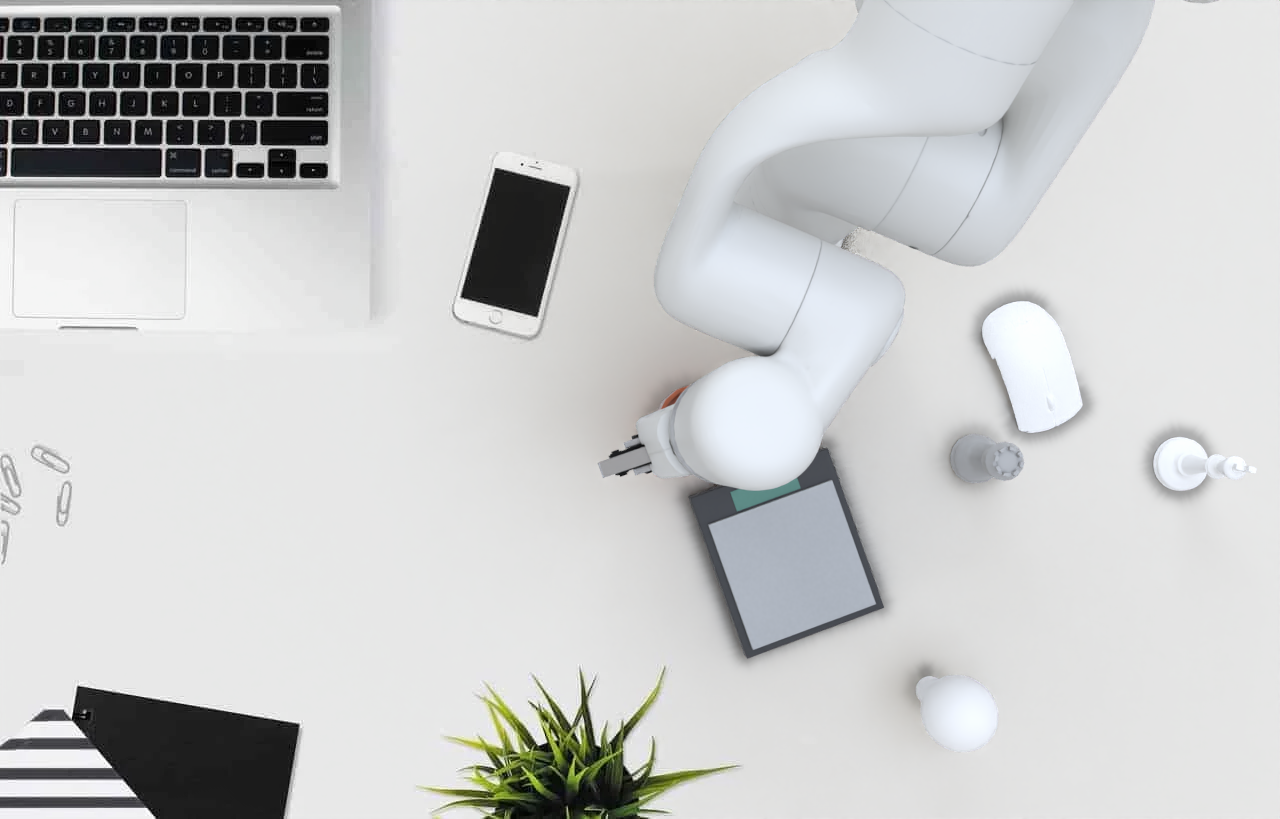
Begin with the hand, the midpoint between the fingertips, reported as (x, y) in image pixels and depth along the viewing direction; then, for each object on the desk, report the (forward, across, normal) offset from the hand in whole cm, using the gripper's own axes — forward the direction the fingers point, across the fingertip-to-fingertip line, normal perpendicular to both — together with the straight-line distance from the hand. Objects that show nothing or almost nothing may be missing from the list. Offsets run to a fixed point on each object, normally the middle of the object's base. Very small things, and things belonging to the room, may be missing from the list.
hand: (695, 433), depth 83 cm
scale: (+6, -5, +13) cm, 15 cm away
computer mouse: (+6, -32, +5) cm, 33 cm away
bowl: (+6, -1, -1) cm, 6 cm away
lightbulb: (+7, -13, +29) cm, 32 cm away
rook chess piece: (+6, -24, +11) cm, 27 cm away
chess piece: (+6, -42, +18) cm, 46 cm away
